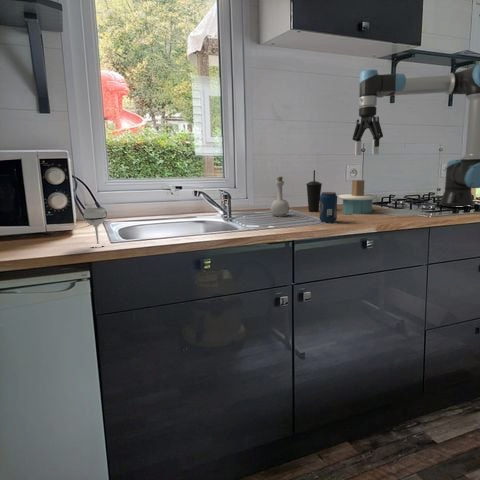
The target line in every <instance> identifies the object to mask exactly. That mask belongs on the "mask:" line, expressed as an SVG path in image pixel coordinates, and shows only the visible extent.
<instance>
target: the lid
mask: <svg viewBox="0 0 480 480" xmlns="http://www.w3.org/2000/svg"><path fill="white" fill-rule="evenodd" d="M338 199H339V200H343V199H345V200H372V201H373V200H376V199H378V196H377V194H373V193H372V194H371V193H365V179H364V180H363V179H361V180H360V179H357V180H356V179H355V180H351V193H345V194H339V195H338Z"/></svg>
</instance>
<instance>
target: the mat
mask: <svg viewBox="0 0 480 480" xmlns="http://www.w3.org/2000/svg"><path fill="white" fill-rule="evenodd" d="M374 212H376V213H381V214H385V215H389V216H393V217H394V216H395V217H407V216H409V217H410V216H419V215H420V216H422V215H433V213H431V212H425V211H419V210H414V209H410V208H398V209H383V210H382V209H380V210H374Z"/></svg>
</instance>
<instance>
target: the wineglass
mask: <svg viewBox="0 0 480 480" xmlns="http://www.w3.org/2000/svg"><path fill="white" fill-rule="evenodd" d="M83 212H84V213H83V220H84V221H85V222H86V223H87V224H88V225H91V226H93V227H94V229H95V230H94V231H95V236H96V244H100V243H99V229H98V227H100V225H102V224H103V223H104V222H105V221H106V219H107V213H106V208H105V207H91V208H85V209H83Z"/></svg>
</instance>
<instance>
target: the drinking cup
mask: <svg viewBox="0 0 480 480" xmlns="http://www.w3.org/2000/svg"><path fill="white" fill-rule="evenodd" d="M305 185H306V191H307V193H306V194H307V209H308V212H309V213H320V196H321V194H322V186H323V183H321V182H319V181H318V180H317V181H316V170H313V180H312V181H309V182H307V183H306V184H305Z"/></svg>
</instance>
